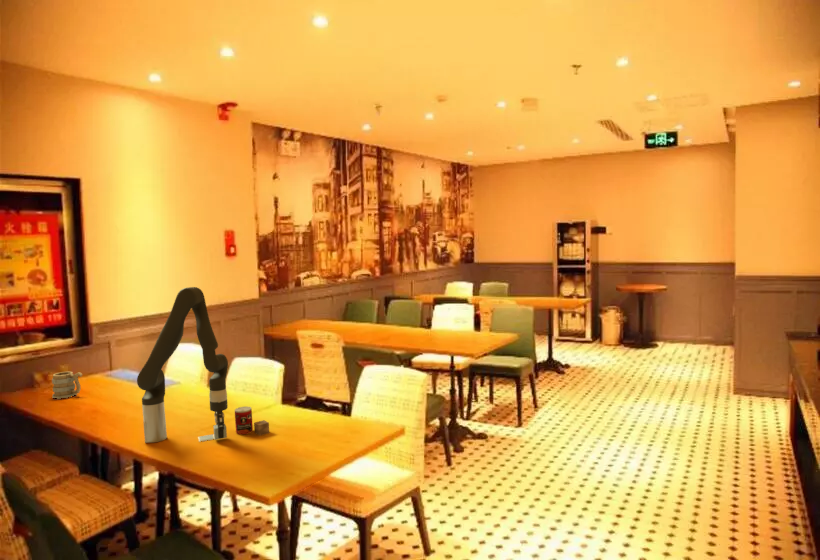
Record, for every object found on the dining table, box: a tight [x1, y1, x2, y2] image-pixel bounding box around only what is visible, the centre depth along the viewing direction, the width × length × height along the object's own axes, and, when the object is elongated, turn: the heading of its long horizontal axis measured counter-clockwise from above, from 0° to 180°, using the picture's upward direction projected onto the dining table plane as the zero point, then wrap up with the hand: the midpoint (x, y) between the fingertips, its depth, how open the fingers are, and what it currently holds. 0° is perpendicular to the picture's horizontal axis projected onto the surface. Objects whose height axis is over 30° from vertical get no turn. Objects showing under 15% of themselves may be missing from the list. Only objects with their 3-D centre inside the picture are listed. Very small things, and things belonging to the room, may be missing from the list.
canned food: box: [234, 406, 254, 435], centre depth 274 cm, size 8×8×11 cm
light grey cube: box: [213, 423, 228, 441], centre depth 264 cm, size 5×5×5 cm
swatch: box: [197, 433, 215, 443], centre depth 268 cm, size 7×7×1 cm
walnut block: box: [253, 420, 270, 436], centre depth 272 cm, size 5×5×5 cm
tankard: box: [51, 371, 83, 400], centre depth 352 cm, size 20×13×15 cm, turn 73°
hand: (220, 435), depth 265 cm, fingers closed on light grey cube, 5 cm apart
